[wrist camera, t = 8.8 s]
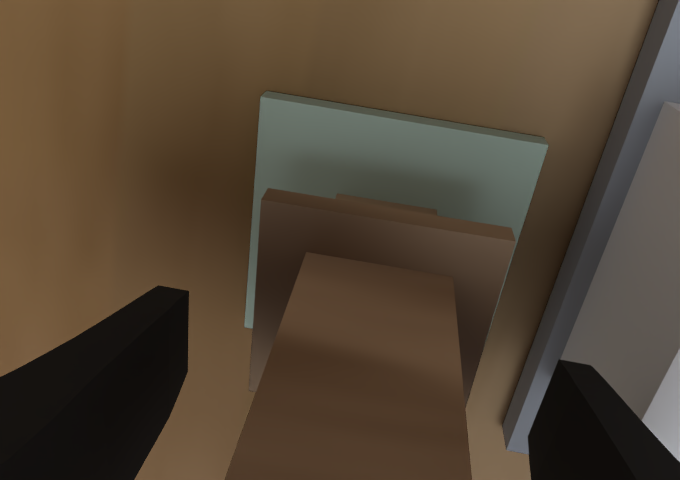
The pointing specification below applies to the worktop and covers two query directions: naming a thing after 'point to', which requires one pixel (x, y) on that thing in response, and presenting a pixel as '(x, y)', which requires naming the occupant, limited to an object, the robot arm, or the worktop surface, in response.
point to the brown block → (366, 339)
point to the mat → (391, 164)
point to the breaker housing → (623, 259)
